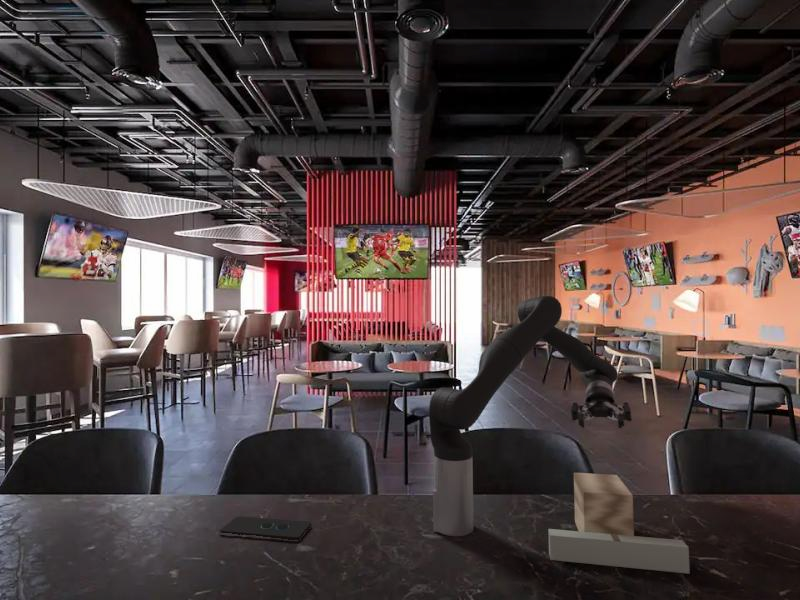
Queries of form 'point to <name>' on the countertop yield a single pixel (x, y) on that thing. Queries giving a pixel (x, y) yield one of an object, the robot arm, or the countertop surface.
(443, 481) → the robot arm
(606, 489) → the birch block
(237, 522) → the smart home device
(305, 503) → the countertop surface
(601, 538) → the sage board
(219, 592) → the countertop surface
